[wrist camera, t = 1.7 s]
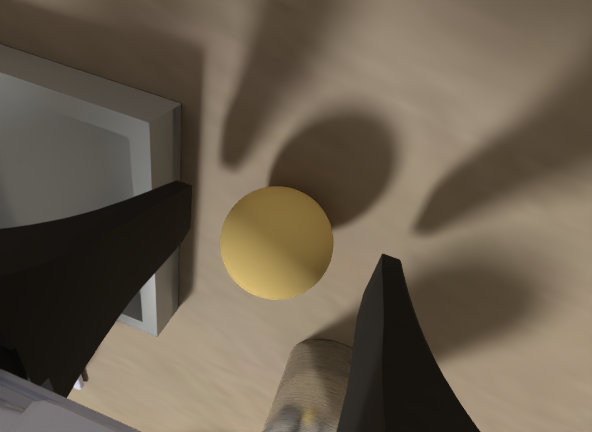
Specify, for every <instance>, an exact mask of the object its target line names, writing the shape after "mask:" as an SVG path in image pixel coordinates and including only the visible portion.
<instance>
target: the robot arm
mask: <svg viewBox="0 0 592 432" xmlns="http://www.w3.org/2000/svg"><path fill="white" fill-rule="evenodd" d="M191 199H192V186H191V185H189V184H186V183H183V182H180V181H174V182H171V183H168V184H165V185H163V186H160V187H158V188H155V189H153V190H150V191H148V192H145V193H142V194H140V195H137V196H135V197H132V198H129V199H127V200H124V201H121V202H118V203H115V204H112V205H109V206H106V207H103V208H100V209H97V210H94V211H90V212H87V213H83V214H79V215H75V216H71V217H67V218H63V219H58V220H53V221H47V222H42V223H37V224H31V225H25V226H18V227H10V228H2V229H0V432H141V431H139V430H137V429H134V428H132V427H130V426H128V425H125V424H123V423H121V422H119V421H116V420H114V419H112V418H110V417H107V416H105V415H103V414H101V413H99V412H96V411H94V410H92V409H90V408H87V407H85V406H83V405H81V404H78V403H76V402H74V401H72V400H69V399H67V397H68V395H69V393H70V392H71V390H72V388H75V389H79V390H80V389H82V387H83V386H84V382H83V378H82V374H81V373H82V372H83V370H84V368H85V367H86V365H87V364H88V362H89V361H90V359H91V358H92V356H93V354H94V353H95V351H96V350H97V348H98V347H99V345H100V344H101V342H102V341H103V339H104V338H105V336H106V335H107V333H108V332H109V330H110V329H111V328H112V326H113V325H114V323H115V322H116V320H117V319H118V318H119V316H120V315H121V313H122V312H123V311H124V309H125V308H126V307H127V305H128V304H129V302H130V301H131V300H132V299H133V297H134V296H135V295H136V294H137V293H138V291H139V290H140V289H141V288H142V287H143V286H144V285H145V284H146V282H147V281H148V280H149V279H150V278H151V277H152V276H153V275H154V274H155V273H156V271H157V270H158V269H159V268H160V267H161V266H162V265H163V264H164V263H165V261H166V260H167V259H168V258H169V257H170V256H171V255H172V254H173V252H174V251H175V250H176V249H177V247H178V246H179V245H180V243H181V242H182V240H183V239H184V237H185V236H186V234H187V233H188V231H189V229H190V224H191ZM336 432H480V431H479V429H478V428H477V427H476V425H475V424H474V422H473V421H472V420H471V418H470V417H469V415H468V414H467V412H466V411H465V409H464V408H463V407H462V405H461V404H460V402H459V400H458V399H457V397H456V396H455V394H454V392H453V391H452V389H451V387H450V386H449V384H448V382H447V381H446V379H445V378H444V376H443V374H442V372H441V370H440V368H439V367H438V365H437V363H436V361H435V359H434V357H433V355H432V353H431V351H430V349H429V346H428V344H427V342H426V340H425V337H424V335H423V332H422V330H421V327H420V325H419V322H418V320H417V317H416V314H415V311H414V308H413V305H412V302H411V299H410V296H409V292H408V289H407V285H406V281H405V277H404V273H403V269H402V264H401V261H400V260H399V259H396V258H394V257H391V256H388V255H385V254H382V255H381V257H380V260H379V262H378V264H377V266H376V268H375V270H374V272H373V274H372V277H371V279H370V281H369V283H368V285H367V287H366V289H365V291H364V294H363V298H362V302H361V305H360V309H359V313H358V317H357V323H356V330H355V337H354V344H353V352H352V359H351V366H350V374H349V380H348V385H347V390H346V394H345V398H344V402H343V407H342V411H341V415H340V419H339V423H338V427H337V431H336Z"/></svg>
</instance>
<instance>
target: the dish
mask: <svg viewBox="0 0 592 432" xmlns="http://www.w3.org/2000/svg"><path fill="white" fill-rule="evenodd" d="M181 110H182V104H181V103H178V102H175V101H172V100H169V99H166V98H163V97H160V96H157V95H153V94H150V93H147V92H144V91H141V90H138V89H135V88H132V87H129V86H126V85H123V84H120V83H117V82H114V81H111V80H108V79H105V78H102V77H99V76H96V75H93V74H90V73H87V72H84V71H80V70H77V69H74V68H71V67H68V66H65V65H62V64H59V63H56V62H53V61H50V60H47V59H44V58H41V57H38V56H35V55H32V54H29V53H26V52H23V51H20V50H17V49H14V48H11V47H7V46H4V45H1V44H0V229H2V228H10V227H18V226H25V225H31V224H37V223H42V222H47V221H53V220H58V219H63V218H67V217H71V216H75V215H79V214H83V213H87V212H90V211H94V210H97V209H100V208H103V207H106V206H109V205H112V204H115V203H118V202H121V201H124V200H127V199H129V198H132V197H135V196H137V195H140V194H142V193H145V192H148V191H150V190H153V189H155V188H158V187H160V186H163V185H165V184H168V183H171V182H174V181H180V167H181ZM178 281H179V246H178V247H177V249H176V250H175V251H174V252H173V254H172V255H171V256H170V257H169V258H168V259H167V260H166V261H165V263H164V264H163V265H162V266H161V267H160V268H159V269H158V270H157V271H156V273H155V274H154V275H153V276H152V277H151V278H150V279H149V280H148V281H147V282H146V284H145V285H144V286H143V287H142V288H141V289H140V290H139V291H138V293H137V294H136V295H135V296H134V297H133V299H132V300H131V301H130V302H129V304H128V305H127V307H126V308H125V309H124V311H123V312H122V313H121V315H120V316H119V318H118V319H117V321H119V322H121V323H124V324H126V325H129V326H131V327H134V328H136V329H139V330H141V331H143V332H146V333H148V334H151V335H153V336H156V337H158V336H159V334H160V333H161V331H162V330H163V329H164V327H165V326H166V325H167V323H168V322H169V320H170V319H171V318H172V316H173V315H174V313H175V312H176V311H177V309H178Z"/></svg>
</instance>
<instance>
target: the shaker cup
mask: <svg viewBox="0 0 592 432" xmlns="http://www.w3.org/2000/svg"><path fill="white" fill-rule="evenodd" d="M352 352H353V349H352V348H350V347H348V346H346V345H343V344H340V343H338V342H334V341H329V340H321V339H315V340H308V341H304V342H301V343H299V344H298V345H296V346H295V347H294V348H293V349H292V351H291V353H290V356H289V359H288V362H287V364H286V367H285V370H284V373H283V376H282V378H281V381H280V384H279V387H278V389H277V392H276V395H275V398H274V401H273V403H272V406H271V409H270V412H269V414H268V417H267V420H266V423H265V425H264V428H263V431H262V432H336V431H337V427H338V423H339V419H340V415H341V411H342V407H343V402H344V398H345V394H346V390H347V385H348V380H349V374H350V366H351V359H352Z"/></svg>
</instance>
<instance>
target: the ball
mask: <svg viewBox="0 0 592 432" xmlns="http://www.w3.org/2000/svg"><path fill="white" fill-rule="evenodd" d="M220 249H221V255H222V259H223V262H224V265H225V267H226V269H227V271H228V273H229V274H230V276H231V277H232V278H233V280H234V281H235V282H236V283H237V284H238V285H239V286H240V287H242V288H243V289H244V290H246V291H247V292H249V293H251V294H253V295H255V296H258V297H261V298H266V299H272V300H280V299H288V298H292V297H295V296H298V295H300V294H302V293H304V292H306V291H307V290H309V289H310V288H312V287H313V286H314V285H315V284H316V283H317V282H318V281H319V280H320V279H321V277H322V276H323V275H324V273H325V272H326V270H327V268H328V266H329V263H330V261H331V257H332V253H333V233H332V228H331V225H330V222H329V220H328V218H327V216H326V214H325V212H324V211H323V209H322V208H321V207H320V206H319V205H318V203H317V202H315V201H314V200H313V199H312V198H311V197H309V196H308V195H306V194H304V193H303V192H301V191H298V190H296V189H292V188H289V187H283V186H273V187H266V188H261V189H259V190H256V191H253V192H251V193H249V194H248V195H246V196H245V197H243V198H242V199H241V200H239V201H238V202H237V203H236V204H235V206H234V207H233V208H232V209H231V211H230V212H229V214H228V215H227V217H226V219H225V222H224V224H223V227H222V232H221V237H220Z"/></svg>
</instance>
